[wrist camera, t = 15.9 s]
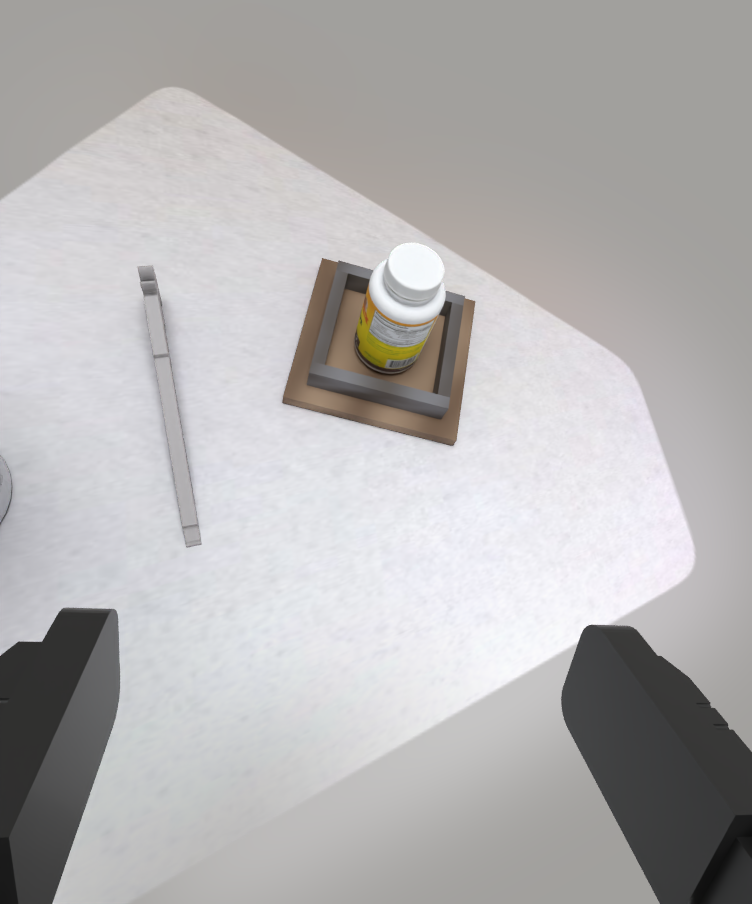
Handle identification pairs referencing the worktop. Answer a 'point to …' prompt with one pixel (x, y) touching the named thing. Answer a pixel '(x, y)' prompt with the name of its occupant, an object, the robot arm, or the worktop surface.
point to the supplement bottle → (400, 308)
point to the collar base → (366, 390)
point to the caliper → (169, 404)
